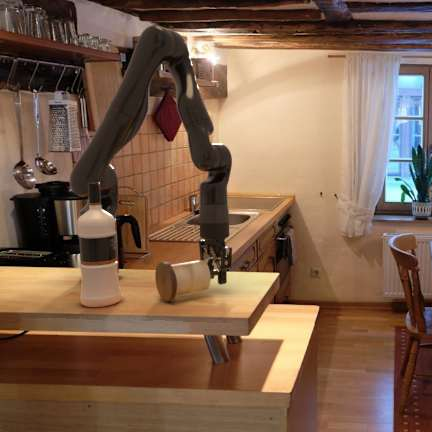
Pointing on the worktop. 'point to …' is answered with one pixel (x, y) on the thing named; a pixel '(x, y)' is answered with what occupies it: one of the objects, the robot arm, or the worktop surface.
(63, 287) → the worktop surface
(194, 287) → the towel holder
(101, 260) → the vodka
